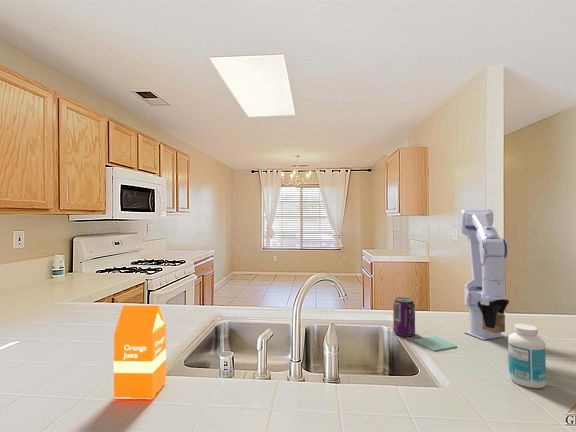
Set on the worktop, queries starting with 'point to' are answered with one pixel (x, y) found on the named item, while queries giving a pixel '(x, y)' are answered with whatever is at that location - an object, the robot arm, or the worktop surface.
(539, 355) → the pill bottle
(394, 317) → the beverage can
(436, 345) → the teal coaster
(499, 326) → the walnut block
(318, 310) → the worktop surface
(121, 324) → the orange juice
